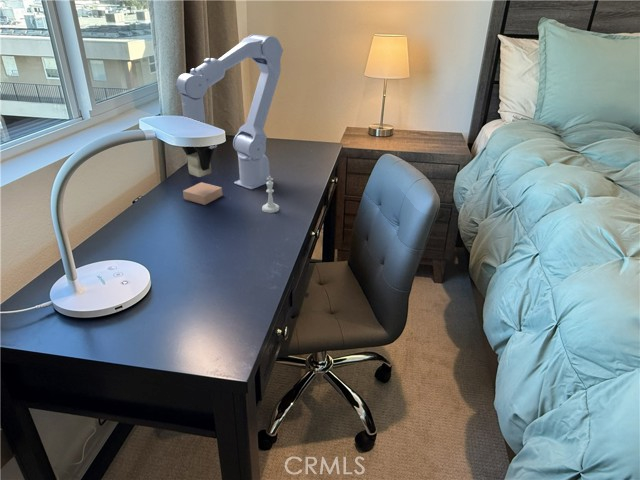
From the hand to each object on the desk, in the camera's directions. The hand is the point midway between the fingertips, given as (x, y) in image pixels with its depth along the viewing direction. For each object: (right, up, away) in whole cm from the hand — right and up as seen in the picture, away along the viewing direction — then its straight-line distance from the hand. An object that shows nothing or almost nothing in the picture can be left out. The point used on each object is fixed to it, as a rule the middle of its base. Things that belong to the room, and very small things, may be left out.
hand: (200, 167), depth 129 cm
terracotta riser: (0, -9, +5) cm, 10 cm away
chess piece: (+21, -12, -2) cm, 24 cm away
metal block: (0, -2, +1) cm, 2 cm away
